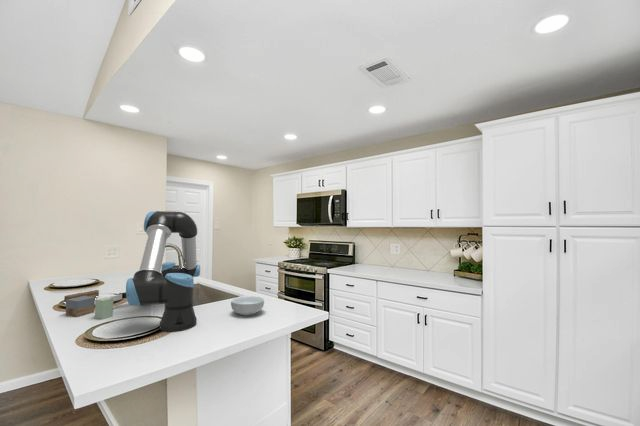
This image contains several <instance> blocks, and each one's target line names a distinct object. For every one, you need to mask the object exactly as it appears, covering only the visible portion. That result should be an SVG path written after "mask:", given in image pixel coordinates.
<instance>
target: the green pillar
mask: <svg viewBox="0 0 640 426" xmlns="http://www.w3.org/2000/svg"><path fill="white" fill-rule="evenodd" d="M109 297H110V296H109ZM109 297H108V296H106V297H101V298H96V300H95V307H94V319H96V320H101V321H103V320H106V319H109V318H112V317H113V315H114V301H113V298H109Z"/></svg>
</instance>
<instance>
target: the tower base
mask: <svg viewBox="0 0 640 426" xmlns="http://www.w3.org/2000/svg"><path fill="white" fill-rule="evenodd" d="M93 313H94V314H95V305H93V306H89V307H85V308H82V309H70V308H66V307H65V317H72V318H79V317H84V316H86V315H89V314H93Z"/></svg>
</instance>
